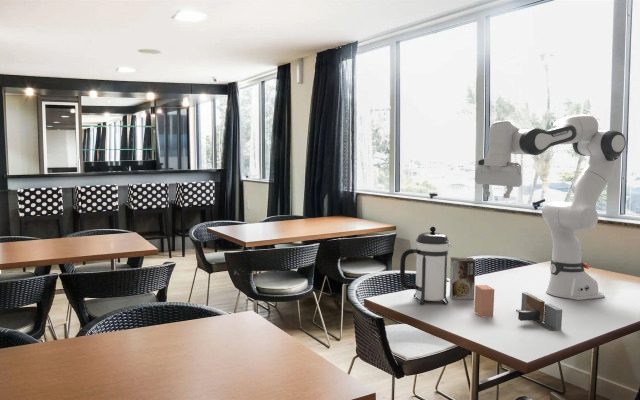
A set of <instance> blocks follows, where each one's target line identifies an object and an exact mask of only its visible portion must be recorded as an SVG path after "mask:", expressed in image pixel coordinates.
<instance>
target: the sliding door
mask: <svg viewBox="0 0 640 400" xmlns="http://www.w3.org/2000/svg"><path fill="white" fill-rule="evenodd" d="M532 295H533V294H531V295H526V311H519V312H518V316H517V317H518V318H517V319H518V320H519V322H520V321H521V322H523V321H533V320H537V321H539V322H543V323H544V310H545V304H546V302H545V300H542V299H540V298H538V297H537V296H535V295H533V296H532ZM534 296H535V297H534ZM536 297H537V298H536Z"/></svg>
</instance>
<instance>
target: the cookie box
mask: <svg viewBox="0 0 640 400" xmlns="http://www.w3.org/2000/svg"><path fill="white" fill-rule="evenodd" d="M449 269H450V273H449V274H450V275H449V279H450V280H449V297H450V298H451V300H475V285H476V284H475V283H476V282H475V279H476V277H475V276H476V260H475V259H474V258H473V257H458V256H457V257H453V256H452V257H451V256H450V268H449Z"/></svg>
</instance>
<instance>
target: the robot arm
mask: <svg viewBox="0 0 640 400" xmlns="http://www.w3.org/2000/svg"><path fill="white" fill-rule="evenodd" d="M488 132H489V133H488V141H487V144H488V151H487V156H486V157H483V158H480V159H478V160H476V165H477V167H476V169H475V174H474V182H475V183H476V184H477V185H482V186H481V187H482V189H483V191H484V196H485V197H490V196H491V191H489V187H490V186H502V187H505V189H506V191H505V192H504V193H503V198H504V199H510V197H511V193H512V191H513V189H514V187H515V188H520V187H521V186H522V183H523V179H522V177H523V176H522V166H521V164H520V163H519V162H512V155H530V156H539V155H542V154H543V153H545V152H546V151H547V150H548V149H550V148H551V147H554V146H557V145H571V144H572V149H573V151H574V153H576V154H577V155H580V156H581V157H582V156H584V157H589V159H588V163H587V164H586V166H585V167H584V168H583V169H582V170H581V172H580V174H579V175H578V177H577V178H576V180H575V181H574V182H573V184H572V185H571V191H572V193H573V198H572V200H570V201H569V202H567V201H561V200H560V201H559V200H557V201H551V202H548V203H546V204H545V205H544V206H543V208H542V211H541V216H542V219H543V221H544V222H545V223H546V224H547V227H548V230H549V232H550V235H551V241H552V249H551V250H552V251H551V253H552V255H551V258H552V259H550V266H549V267H550V276H549V277H550V278H549V282H548V285H547V288H546V290H545V292H546V293H547V294H548V295H551V296H554V297H558V298H564V299H570V300H575V301H576V300H577V301H580V300H581V301H583V300H590V299H600V298H605V294H604V293H603V292H602V291H599V284H598V282H597V280H596V278H593V277H592V276H591V275H590V274H588V272H586V271H585V269H590V267H591V265H590V264H589V263H586V262H585V263H583V262H582V252H583V251H582V249H583V245H582V242H581V241H580V239H578V237H577V235H576V233H575V231H577V232H580V231H581V232H583V231H591V230H593V229H594V228H595V227H596V226H597V224H598V221H599V214H598V212H597V209H596V207H597V203H598V200H599V198H600V197H601V195H602V193H603V191H605V188H606V187H607V185H608V184H609V182H610V180H611V179H612V177H613V175H614V173H615V170H616V168H617V166H616V165H617V163H616V160H617V159H619V157H620V156H621V154H622V153H623V152H624V150H625V148H626V143H627V142H626V137H625V135H624V134H623V133H622V132H620V131H618V130H604V129H599V122H598V120H597V119H596V118H595V117H594V116H593V115H590V114H576V115H571V116H567V117H563V118H560V119H558V120H556V121H554V123H553V124H552V126H551V129H548V130H547V129H543V128H530V129H528V128H527V129H521V128H519V127H517V126H516V125H515V124H514V123H513V122H512V121H511V120H507V119H506V120H498V121H494V122H492V123H491V125H490V127H489V131H488Z"/></svg>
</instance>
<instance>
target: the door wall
mask: <svg viewBox="0 0 640 400" xmlns="http://www.w3.org/2000/svg"><path fill="white" fill-rule="evenodd" d="M526 295H532V296H534V297H536V298H538V296H536V295H533V294H531V293H529V292H526V291H525V292H521V309H516V310H515V312H517V313H519V311H526ZM562 317H563V309H562V308H560V307H557V306H555V305H553V304H552V303H545V306H544V322H539V321H537V320H532V322H534V323H536V324H537V325H539V326H541V327H543V328H544V329H546V330H548V331H562V321H563V318H562Z"/></svg>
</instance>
